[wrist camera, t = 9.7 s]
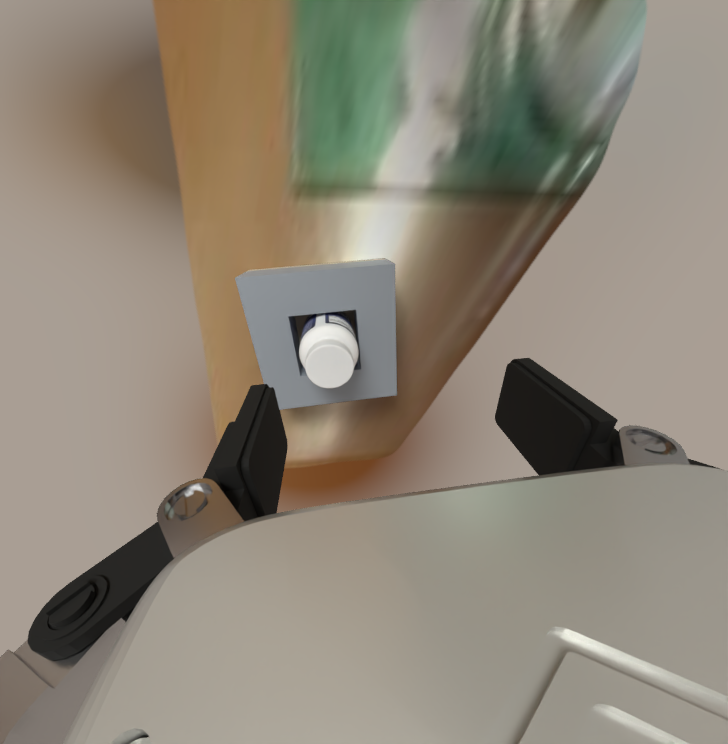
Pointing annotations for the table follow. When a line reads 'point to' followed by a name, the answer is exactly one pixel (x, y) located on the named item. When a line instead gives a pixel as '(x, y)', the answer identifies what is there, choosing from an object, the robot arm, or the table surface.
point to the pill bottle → (328, 349)
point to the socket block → (322, 295)
